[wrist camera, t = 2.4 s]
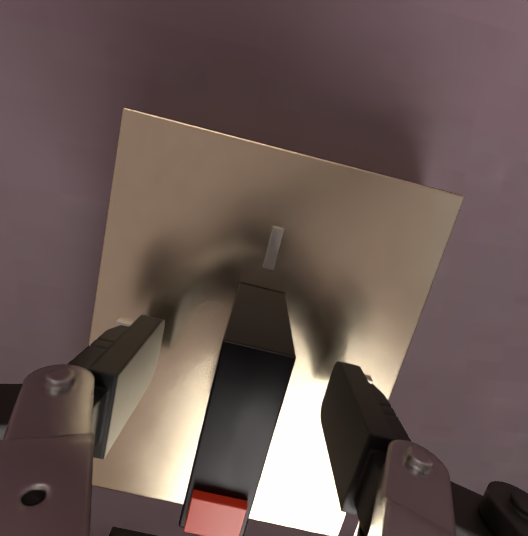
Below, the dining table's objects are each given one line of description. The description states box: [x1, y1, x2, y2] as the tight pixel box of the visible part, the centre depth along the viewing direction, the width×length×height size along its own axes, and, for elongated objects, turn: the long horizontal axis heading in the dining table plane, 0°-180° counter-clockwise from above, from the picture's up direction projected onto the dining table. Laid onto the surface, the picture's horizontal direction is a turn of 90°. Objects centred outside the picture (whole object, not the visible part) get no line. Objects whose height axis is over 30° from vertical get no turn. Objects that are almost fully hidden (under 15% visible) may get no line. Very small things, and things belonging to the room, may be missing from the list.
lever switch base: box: [89, 107, 464, 536], centre depth 14 cm, size 14×11×3 cm
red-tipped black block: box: [179, 283, 296, 536], centre depth 10 cm, size 5×2×5 cm, turn 166°
